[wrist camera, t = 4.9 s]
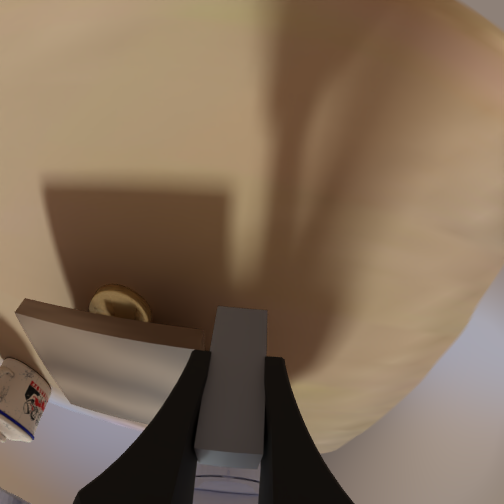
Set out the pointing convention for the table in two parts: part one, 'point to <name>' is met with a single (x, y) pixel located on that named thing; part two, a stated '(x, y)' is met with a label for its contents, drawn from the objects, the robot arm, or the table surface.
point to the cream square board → (109, 358)
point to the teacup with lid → (21, 400)
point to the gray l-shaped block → (234, 391)
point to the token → (120, 303)
